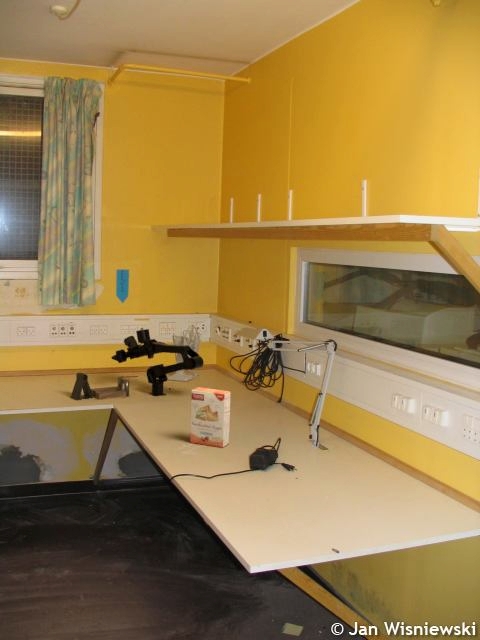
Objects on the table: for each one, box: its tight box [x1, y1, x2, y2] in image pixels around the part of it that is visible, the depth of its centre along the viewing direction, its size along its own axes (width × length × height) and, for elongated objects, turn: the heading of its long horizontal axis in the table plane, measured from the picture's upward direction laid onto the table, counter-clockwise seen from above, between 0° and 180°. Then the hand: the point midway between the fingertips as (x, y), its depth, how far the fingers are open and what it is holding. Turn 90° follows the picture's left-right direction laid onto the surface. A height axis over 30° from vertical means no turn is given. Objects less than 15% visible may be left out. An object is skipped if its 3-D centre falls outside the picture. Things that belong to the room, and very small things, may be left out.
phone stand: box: [70, 372, 94, 401], centre depth 338 cm, size 9×6×12 cm, turn 129°
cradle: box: [90, 376, 130, 400], centre depth 345 cm, size 11×16×8 cm
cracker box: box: [190, 386, 231, 449], centre depth 269 cm, size 14×6×21 cm, turn 66°
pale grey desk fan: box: [167, 325, 202, 382], centre depth 395 cm, size 30×22×30 cm
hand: (117, 356), depth 363 cm, fingers open, 9 cm apart
